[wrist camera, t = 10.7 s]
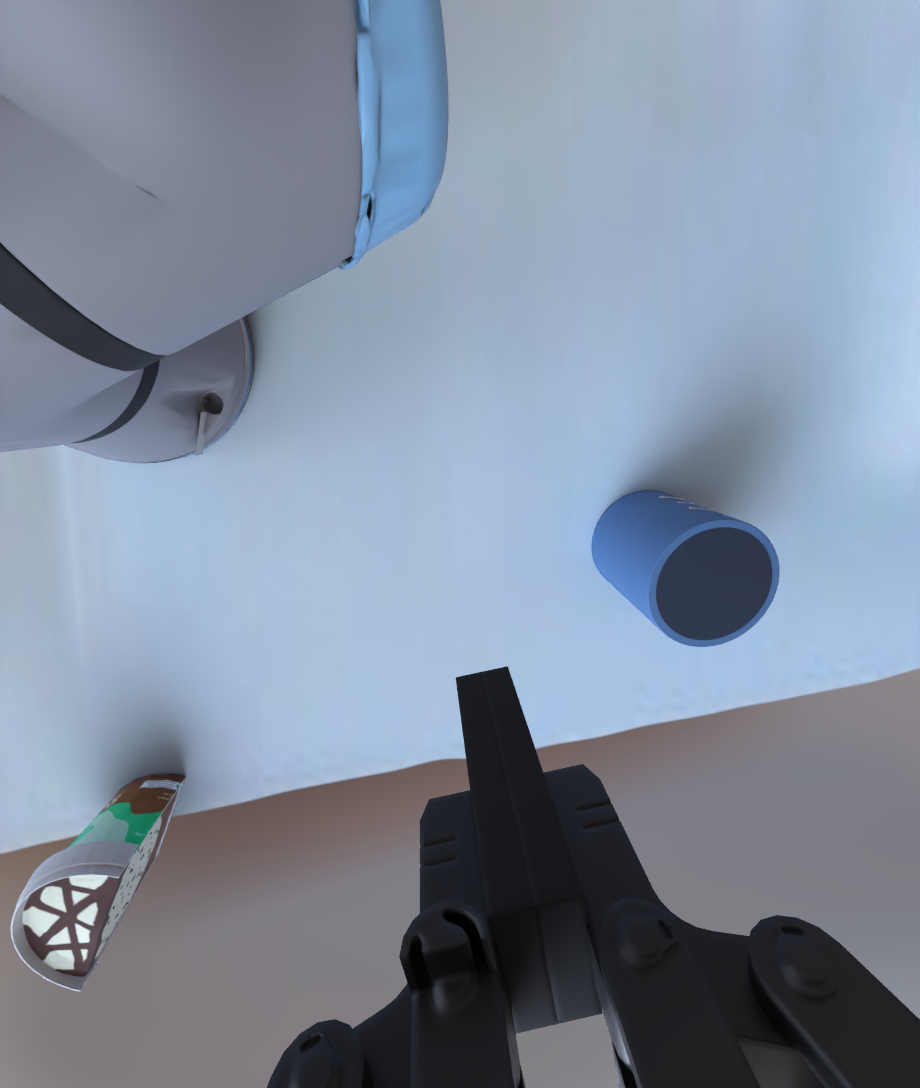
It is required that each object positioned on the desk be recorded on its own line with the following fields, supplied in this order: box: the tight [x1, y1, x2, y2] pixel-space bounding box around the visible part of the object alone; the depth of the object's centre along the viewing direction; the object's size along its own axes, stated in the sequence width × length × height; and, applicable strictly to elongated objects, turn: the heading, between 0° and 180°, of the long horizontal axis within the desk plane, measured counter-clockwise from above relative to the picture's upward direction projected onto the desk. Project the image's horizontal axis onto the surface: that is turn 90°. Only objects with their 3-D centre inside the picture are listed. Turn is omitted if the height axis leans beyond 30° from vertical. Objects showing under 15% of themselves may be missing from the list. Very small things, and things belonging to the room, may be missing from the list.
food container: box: [11, 774, 185, 991], centre depth 37 cm, size 12×6×10 cm, turn 156°
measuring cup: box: [592, 491, 779, 647], centre depth 34 cm, size 10×8×8 cm
